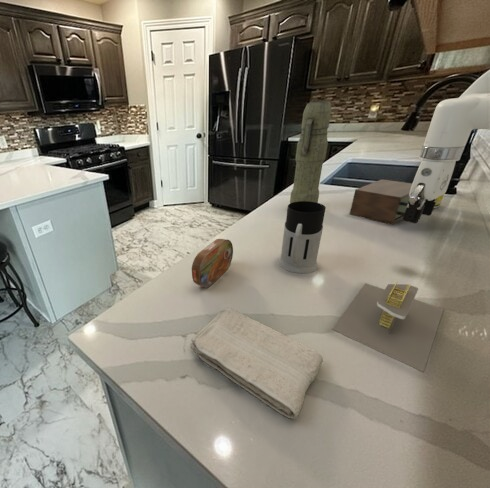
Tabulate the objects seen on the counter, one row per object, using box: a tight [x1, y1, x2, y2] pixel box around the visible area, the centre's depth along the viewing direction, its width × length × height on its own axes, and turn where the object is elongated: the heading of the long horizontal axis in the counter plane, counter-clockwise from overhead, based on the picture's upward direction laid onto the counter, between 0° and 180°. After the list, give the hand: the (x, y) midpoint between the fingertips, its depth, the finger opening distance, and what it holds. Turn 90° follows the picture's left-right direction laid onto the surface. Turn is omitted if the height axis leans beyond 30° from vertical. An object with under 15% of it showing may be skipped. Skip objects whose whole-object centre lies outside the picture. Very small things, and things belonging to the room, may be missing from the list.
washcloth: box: [189, 307, 324, 420], centre depth 42 cm, size 12×18×3 cm, turn 46°
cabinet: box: [349, 179, 422, 226], centre depth 84 cm, size 12×16×8 cm
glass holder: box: [277, 201, 326, 274], centre depth 59 cm, size 9×14×15 cm, turn 147°
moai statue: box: [289, 99, 332, 204], centre depth 87 cm, size 9×12×35 cm
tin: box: [191, 238, 234, 289], centre depth 62 cm, size 15×3×8 cm, turn 139°
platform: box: [332, 280, 444, 373], centre depth 45 cm, size 12×18×7 cm, turn 131°
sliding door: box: [395, 196, 425, 220], centre depth 76 cm, size 6×7×6 cm
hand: (416, 217), depth 74 cm, fingers open, 7 cm apart
